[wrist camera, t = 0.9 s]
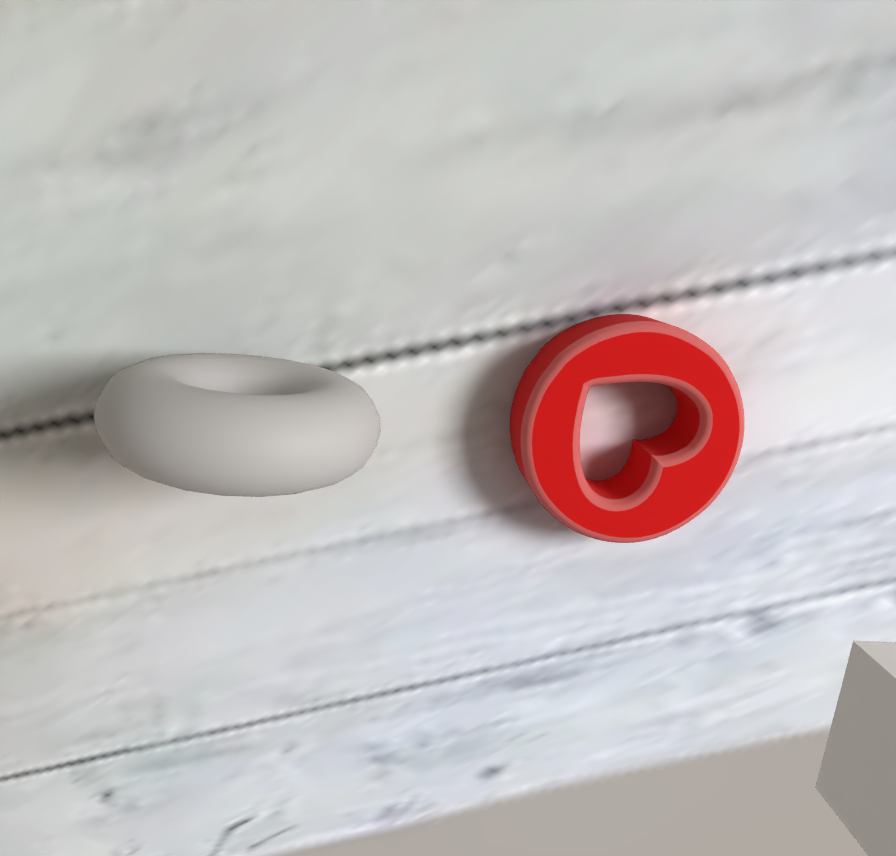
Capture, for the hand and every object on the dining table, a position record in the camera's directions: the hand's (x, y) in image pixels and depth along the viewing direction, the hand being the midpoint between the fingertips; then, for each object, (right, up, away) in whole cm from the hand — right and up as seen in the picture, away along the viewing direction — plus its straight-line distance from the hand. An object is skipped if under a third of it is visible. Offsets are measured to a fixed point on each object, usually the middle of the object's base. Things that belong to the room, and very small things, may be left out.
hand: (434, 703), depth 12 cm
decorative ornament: (+8, +5, +24) cm, 26 cm away
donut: (-8, +6, +22) cm, 24 cm away
